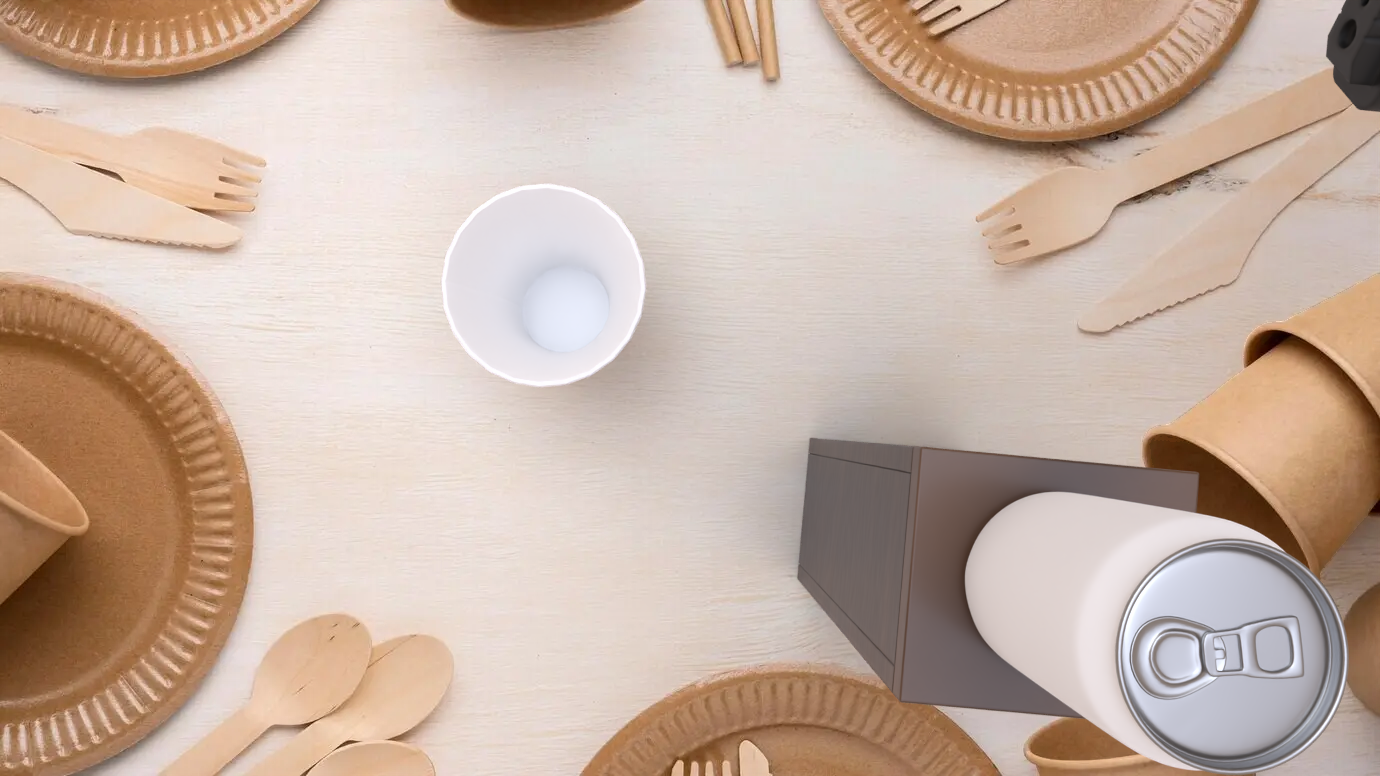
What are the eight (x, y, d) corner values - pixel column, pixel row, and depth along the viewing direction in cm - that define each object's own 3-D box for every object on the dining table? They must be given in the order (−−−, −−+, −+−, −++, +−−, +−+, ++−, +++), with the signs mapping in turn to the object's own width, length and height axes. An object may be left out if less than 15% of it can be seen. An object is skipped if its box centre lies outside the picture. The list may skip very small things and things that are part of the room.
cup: (648, 398, 67) (642, 391, 54) (483, 392, 67) (435, 383, 53) (654, 234, 67) (650, 186, 54) (490, 228, 67) (444, 178, 54)
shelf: (1184, 471, 39) (1200, 472, 37) (1165, 718, 38) (1181, 728, 37) (913, 445, 38) (920, 446, 37) (891, 694, 38) (899, 703, 37)
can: (952, 498, 37) (1085, 533, 25) (1133, 482, 37) (1352, 508, 25) (970, 683, 37) (1113, 806, 25) (1152, 665, 37) (1382, 780, 25)
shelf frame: (965, 452, 67) (1184, 471, 39) (953, 593, 67) (1165, 718, 38) (809, 437, 67) (913, 445, 38) (797, 579, 67) (891, 694, 38)
